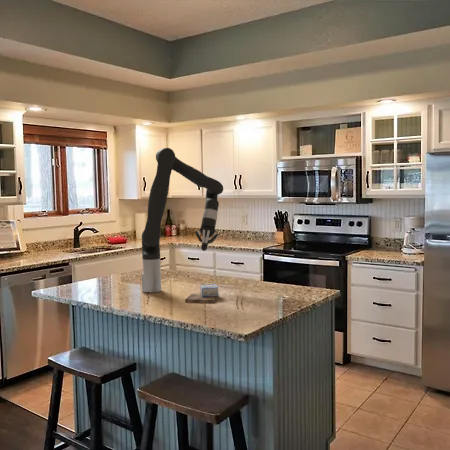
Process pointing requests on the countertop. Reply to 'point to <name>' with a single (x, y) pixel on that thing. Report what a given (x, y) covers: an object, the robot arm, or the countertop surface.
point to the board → (201, 299)
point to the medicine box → (209, 290)
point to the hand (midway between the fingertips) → (203, 250)
